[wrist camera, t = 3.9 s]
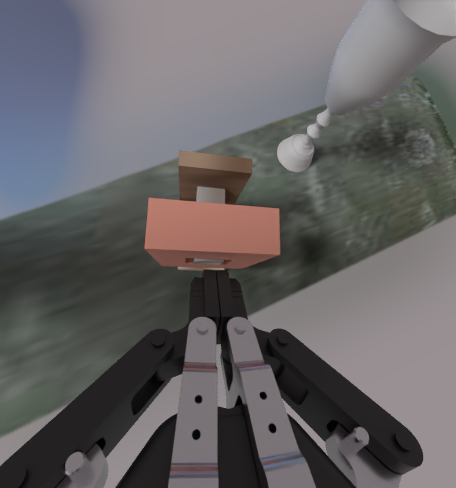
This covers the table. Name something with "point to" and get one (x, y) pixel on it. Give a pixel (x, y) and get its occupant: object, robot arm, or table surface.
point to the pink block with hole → (211, 233)
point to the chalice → (375, 62)
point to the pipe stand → (211, 184)
